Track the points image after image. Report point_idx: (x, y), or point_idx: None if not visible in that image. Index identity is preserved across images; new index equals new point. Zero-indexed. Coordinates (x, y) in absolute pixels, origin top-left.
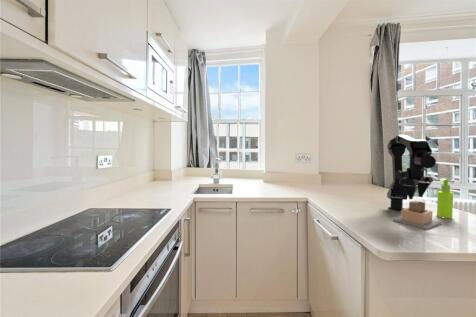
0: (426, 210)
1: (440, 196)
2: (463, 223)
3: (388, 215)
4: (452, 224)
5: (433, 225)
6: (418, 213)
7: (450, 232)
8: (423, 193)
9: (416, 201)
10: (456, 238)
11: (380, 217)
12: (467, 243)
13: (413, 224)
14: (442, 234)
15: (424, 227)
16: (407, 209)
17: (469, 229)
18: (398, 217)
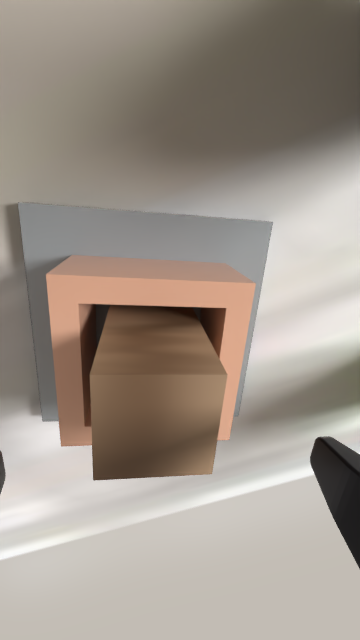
0: None
1: None
2: None
3: (155, 93)
4: (276, 432)
5: None
6: (59, 414)
7: None
8: (348, 537)
9: (192, 410)
10: (49, 511)
11: (10, 67)
12: (24, 544)
13: (36, 353)
14: (48, 470)
15: (42, 409)
16: (118, 303)
17: (246, 488)
18: (104, 216)
